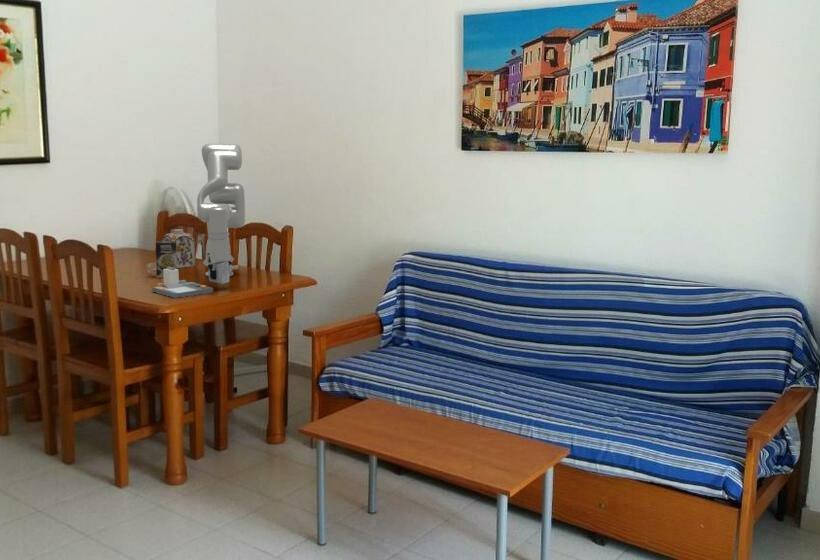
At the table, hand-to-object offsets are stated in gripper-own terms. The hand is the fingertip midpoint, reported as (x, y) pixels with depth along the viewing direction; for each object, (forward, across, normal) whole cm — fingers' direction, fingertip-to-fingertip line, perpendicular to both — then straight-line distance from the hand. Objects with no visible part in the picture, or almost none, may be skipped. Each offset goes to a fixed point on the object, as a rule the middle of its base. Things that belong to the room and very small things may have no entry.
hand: (219, 277), depth 343 cm
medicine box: (+2, 0, 0) cm, 2 cm away
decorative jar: (+8, -17, -58) cm, 61 cm away
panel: (+5, +15, -4) cm, 16 cm away
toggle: (+2, +18, -8) cm, 20 cm away
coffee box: (+7, +2, -38) cm, 38 cm away
